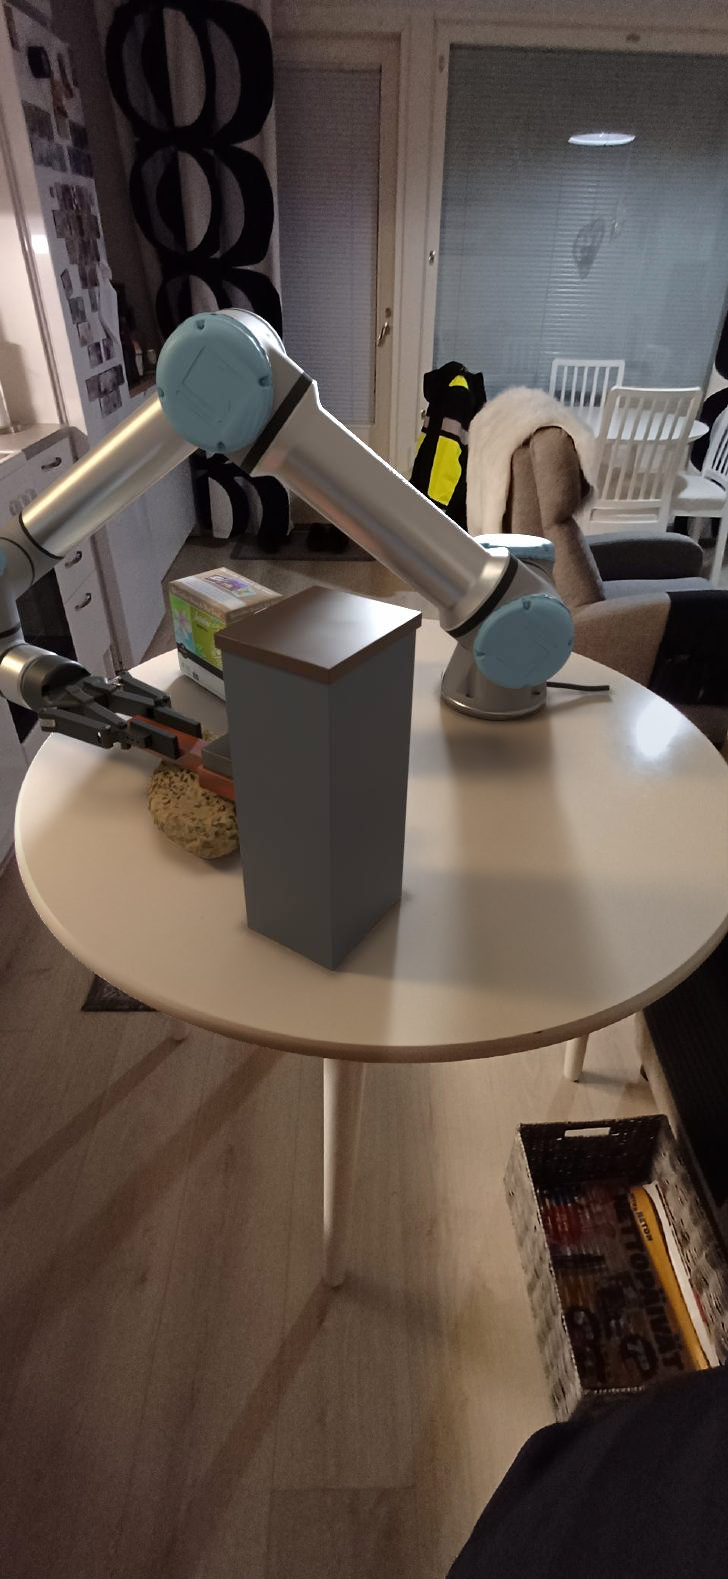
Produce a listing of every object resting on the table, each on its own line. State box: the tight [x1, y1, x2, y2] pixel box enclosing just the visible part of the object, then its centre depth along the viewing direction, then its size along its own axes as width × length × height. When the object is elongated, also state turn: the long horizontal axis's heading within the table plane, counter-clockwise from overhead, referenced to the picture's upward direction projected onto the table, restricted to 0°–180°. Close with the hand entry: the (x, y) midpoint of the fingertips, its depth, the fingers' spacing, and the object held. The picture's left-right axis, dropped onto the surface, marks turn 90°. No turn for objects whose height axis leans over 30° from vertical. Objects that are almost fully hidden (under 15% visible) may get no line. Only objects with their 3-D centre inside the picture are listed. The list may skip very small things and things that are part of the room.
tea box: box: [167, 566, 284, 703], centre depth 113 cm, size 15×10×15 cm, turn 42°
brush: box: [126, 715, 235, 801], centre depth 84 cm, size 22×6×5 cm, turn 56°
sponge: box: [146, 729, 240, 859], centre depth 87 cm, size 13×8×20 cm
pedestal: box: [214, 585, 423, 972], centre depth 68 cm, size 11×13×30 cm
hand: (187, 741), depth 84 cm, fingers closed on brush, 3 cm apart
